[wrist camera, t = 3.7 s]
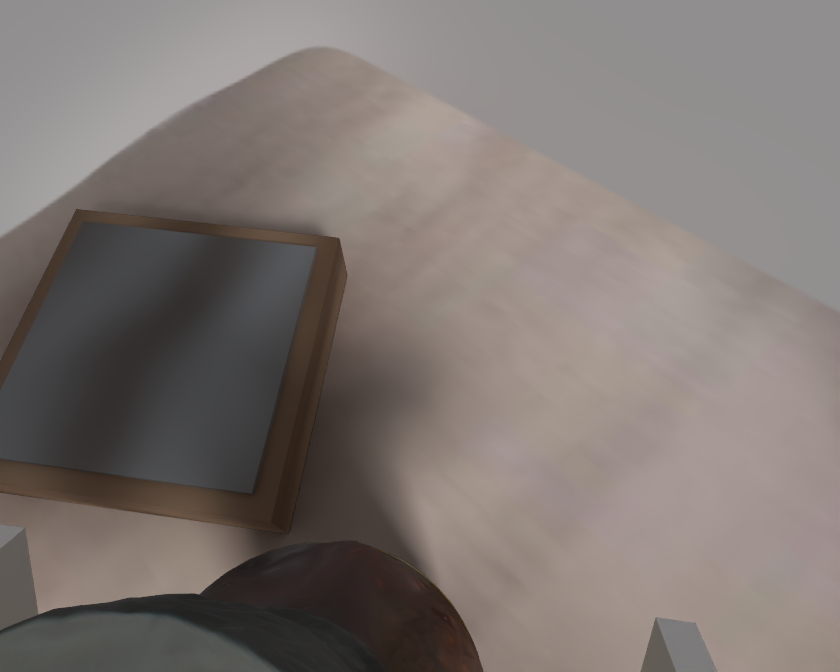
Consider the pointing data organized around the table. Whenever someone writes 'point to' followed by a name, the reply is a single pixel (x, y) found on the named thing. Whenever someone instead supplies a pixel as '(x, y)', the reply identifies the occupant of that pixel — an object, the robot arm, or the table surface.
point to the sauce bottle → (261, 622)
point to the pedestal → (171, 369)
